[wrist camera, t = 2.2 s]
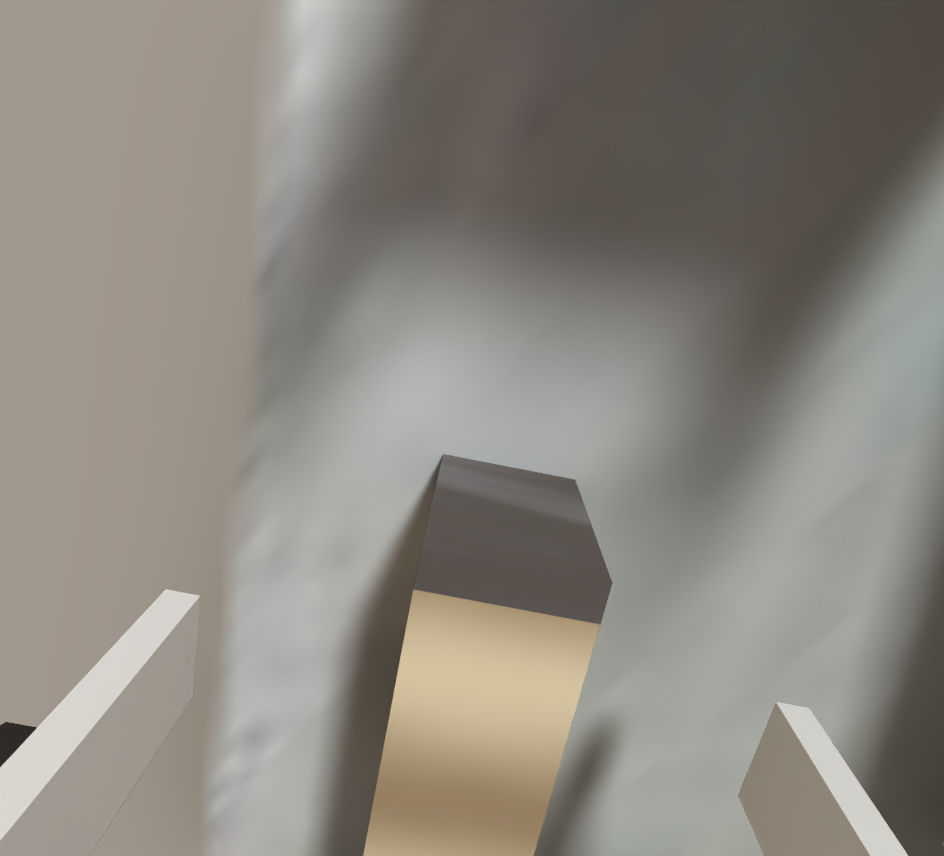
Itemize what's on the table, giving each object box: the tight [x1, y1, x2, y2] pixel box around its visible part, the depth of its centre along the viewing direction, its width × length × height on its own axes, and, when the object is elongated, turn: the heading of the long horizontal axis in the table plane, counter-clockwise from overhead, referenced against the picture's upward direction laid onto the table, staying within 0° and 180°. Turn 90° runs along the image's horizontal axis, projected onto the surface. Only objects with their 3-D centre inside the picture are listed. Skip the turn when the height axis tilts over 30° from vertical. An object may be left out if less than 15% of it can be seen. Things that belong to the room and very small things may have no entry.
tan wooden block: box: [363, 454, 612, 856], centre depth 17 cm, size 12×4×6 cm, turn 169°
